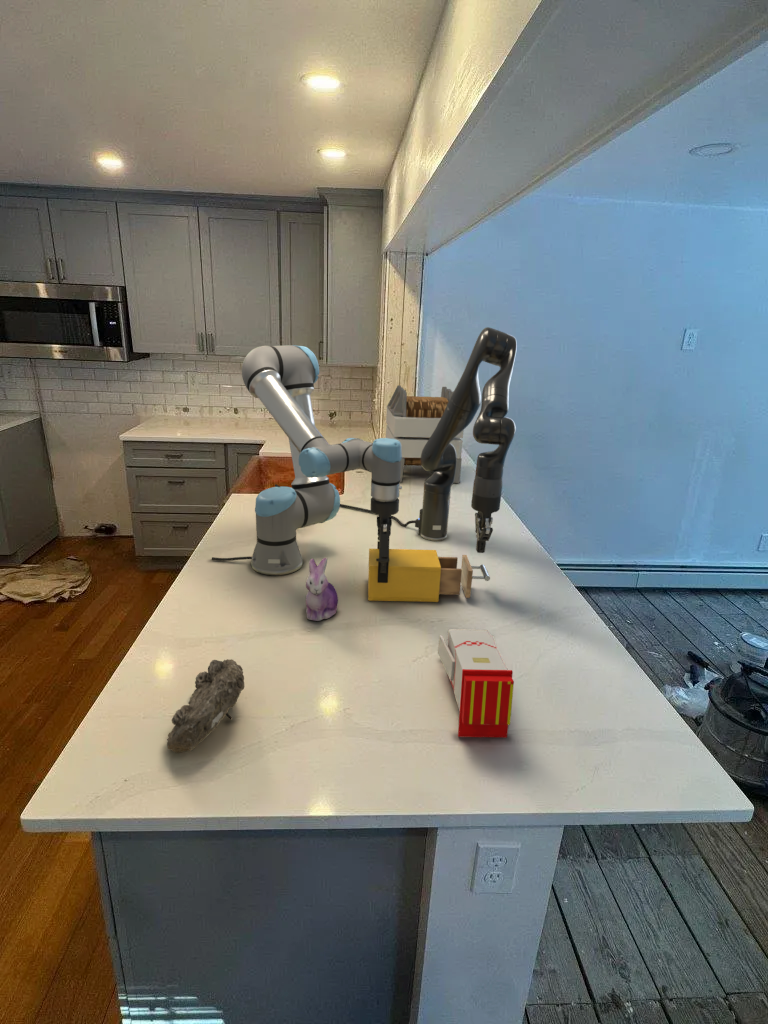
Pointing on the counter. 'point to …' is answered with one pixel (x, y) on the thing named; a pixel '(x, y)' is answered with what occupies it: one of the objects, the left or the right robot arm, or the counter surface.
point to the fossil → (206, 705)
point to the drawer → (458, 575)
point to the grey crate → (418, 425)
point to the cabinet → (406, 576)
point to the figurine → (320, 593)
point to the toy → (478, 682)
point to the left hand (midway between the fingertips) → (382, 572)
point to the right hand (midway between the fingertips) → (480, 551)
